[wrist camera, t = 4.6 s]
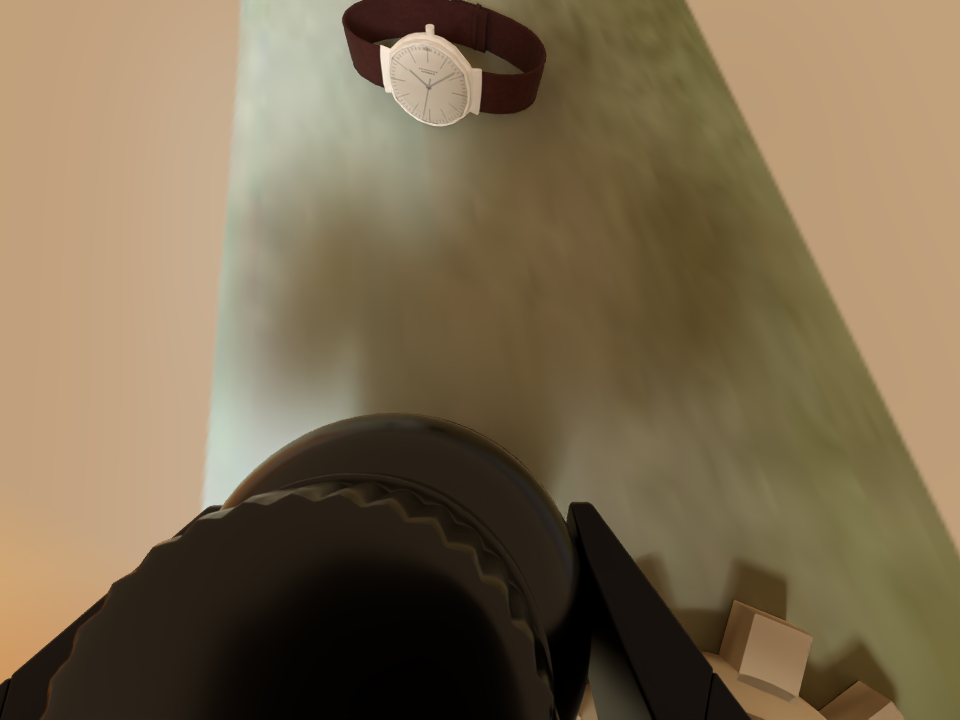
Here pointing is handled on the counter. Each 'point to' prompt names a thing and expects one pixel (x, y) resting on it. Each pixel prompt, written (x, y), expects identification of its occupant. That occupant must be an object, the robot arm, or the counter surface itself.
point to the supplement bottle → (350, 593)
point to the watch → (443, 57)
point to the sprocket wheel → (774, 674)
